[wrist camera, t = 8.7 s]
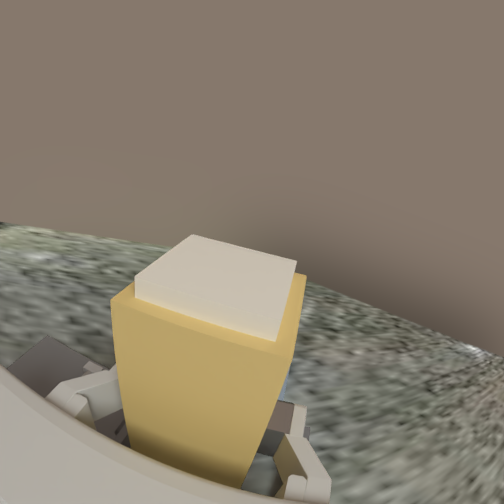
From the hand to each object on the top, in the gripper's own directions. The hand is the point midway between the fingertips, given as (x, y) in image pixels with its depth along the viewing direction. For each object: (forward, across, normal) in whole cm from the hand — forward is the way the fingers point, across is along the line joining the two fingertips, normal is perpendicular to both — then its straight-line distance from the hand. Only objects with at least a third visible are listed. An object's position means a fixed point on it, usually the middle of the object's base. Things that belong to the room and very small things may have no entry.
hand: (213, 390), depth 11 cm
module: (-1, 0, -7) cm, 7 cm away
